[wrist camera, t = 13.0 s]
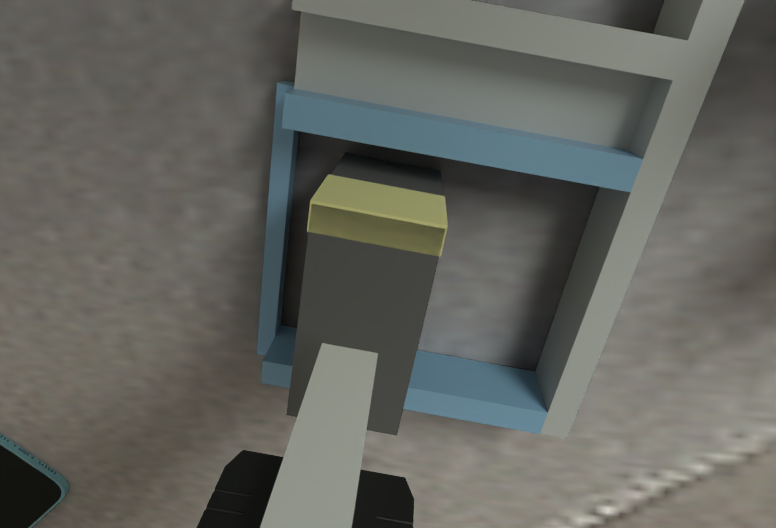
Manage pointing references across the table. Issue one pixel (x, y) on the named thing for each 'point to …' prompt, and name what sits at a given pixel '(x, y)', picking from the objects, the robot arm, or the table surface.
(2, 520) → the smartphone
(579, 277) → the grey frame
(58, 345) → the table surface
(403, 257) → the yellow-capped grey block
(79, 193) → the table surface
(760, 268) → the table surface
